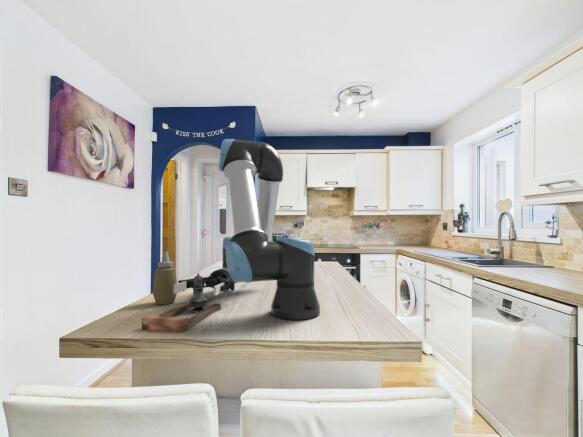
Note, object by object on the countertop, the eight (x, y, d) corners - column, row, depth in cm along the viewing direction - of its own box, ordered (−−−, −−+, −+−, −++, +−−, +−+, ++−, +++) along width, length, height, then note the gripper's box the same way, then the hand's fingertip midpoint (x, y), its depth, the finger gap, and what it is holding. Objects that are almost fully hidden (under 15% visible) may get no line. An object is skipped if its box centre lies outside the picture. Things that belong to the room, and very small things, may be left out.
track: (220, 308, 99) (220, 299, 99) (183, 332, 77) (183, 320, 77) (187, 306, 101) (187, 297, 102) (141, 329, 79) (141, 317, 79)
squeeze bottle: (171, 306, 102) (172, 252, 103) (148, 306, 102) (148, 252, 103) (181, 300, 110) (181, 250, 111) (158, 300, 110) (159, 250, 111)
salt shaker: (201, 313, 93) (202, 274, 93) (184, 312, 94) (184, 274, 94) (210, 308, 99) (211, 271, 99) (194, 307, 100) (194, 271, 100)
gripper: (253, 289, 113) (232, 304, 92) (191, 287, 118) (158, 300, 97) (253, 269, 113) (232, 279, 93) (192, 268, 118) (158, 276, 97)
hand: (194, 290), depth 95 cm, fingers open, 13 cm apart
